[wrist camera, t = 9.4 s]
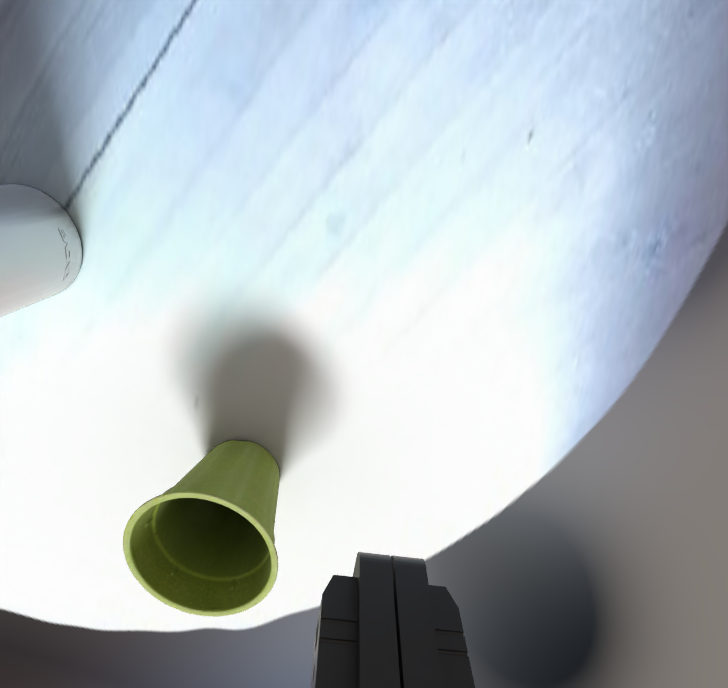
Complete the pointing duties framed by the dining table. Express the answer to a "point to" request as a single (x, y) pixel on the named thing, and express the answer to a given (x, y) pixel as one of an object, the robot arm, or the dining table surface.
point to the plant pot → (210, 534)
